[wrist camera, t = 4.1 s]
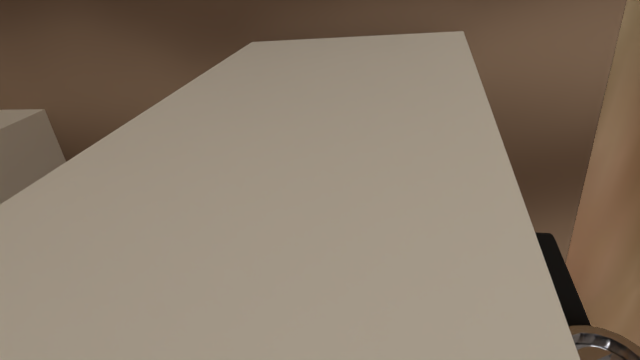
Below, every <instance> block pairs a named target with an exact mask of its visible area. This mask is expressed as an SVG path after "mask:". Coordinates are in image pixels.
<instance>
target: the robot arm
mask: <svg viewBox="0 0 640 360" xmlns="http://www.w3.org/2000/svg"><path fill="white" fill-rule="evenodd" d="M535 234H536V237H537V239H538V242H539V245H540V248H541V251H542V254H543V256H544V259H545V262H546V265H547V268H548V270H549V273H550V276H551V279H552V282H553V284H554V287H555V290H556V293H557V296H558V298H559V301H560V304H561V307H562V310H563V312H564V315H565V318H566V321H567V324H568V327H569V329H570V332H571V335H572V338H573V341H574V343H575V346H576V349H577V352H578V355H579V357H580V360H640V347H639V346H638V345H636V344H635V343H633V342H631V341H630V340H628V339H626V338H625V337H623V336H621V335H619V334H616V333H614V332H611V331H609V330H606V329H603V328H598V327H593V326H591V325H590V322H589V320H588V318H587V315H586V313H585V310H584V308H583V305H582V303H581V301H580V298H579V296H578V293H577V291H576V289H575V286H574V284H573V281H572V279H571V276H570V274H569V272H568V269H567V267H566V264H565V262H564V259H563V257H562V255H561V252H560V250H559V247H558V245H557V242H556V240H555V238H554V236H553V235H552V234H550V233H538V232H535Z"/></svg>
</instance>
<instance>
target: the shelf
mask: <svg viewBox="0 0 640 360" xmlns="http://www.w3.org/2000/svg"><path fill="white" fill-rule="evenodd" d="M626 1H627V0H0V110H24V109H45V112H46V114H47V117H48V119H49V121H50V124H51V126H52V129H53V131H54V134H55V136H56V138H57V141H58V143H59V146H60V148H61V151H62V153H63V155H64V158H65V160H66V162H67V161H68V160H70V159H72V158H73V157H75V156H76V155H78V154H79V153H81V152H82V151H84V150H85V149H87V148H89V147H90V146H92V145H93V144H95V143H96V142H98V141H99V140H101V139H102V138H104V137H106V136H107V135H109V134H110V133H112V132H113V131H115V130H116V129H118V128H120V127H121V126H123V125H124V124H126V123H127V122H129V121H130V120H132V119H133V118H135V117H137V116H138V115H140V114H141V113H143V112H144V111H146V110H147V109H149V108H150V107H152V106H154V105H155V104H157V103H158V102H160V101H161V100H163V99H164V98H166V97H168V96H169V95H171V94H172V93H174V92H175V91H177V90H178V89H180V88H181V87H183V86H185V85H186V84H188V83H189V82H191V81H192V80H194V79H195V78H197V77H198V76H200V75H202V74H203V73H205V72H206V71H208V70H209V69H211V68H212V67H214V66H216V65H217V64H219V63H220V62H222V61H223V60H225V59H226V58H228V57H229V56H231V55H233V54H234V53H236V52H237V51H239V50H240V49H242V48H243V47H245V46H246V45H248V44H250V43H251V42H260V41H280V40H299V39H319V38H338V37H358V36H377V35H397V34H416V33H436V32H455V31H463V32H464V34H465V37H466V40H467V43H468V46H469V48H470V51H471V54H472V57H473V60H474V62H475V65H476V68H477V71H478V74H479V77H480V79H481V82H482V85H483V88H484V91H485V93H486V96H487V99H488V102H489V105H490V107H491V110H492V113H493V116H494V119H495V121H496V124H497V127H498V130H499V133H500V136H501V138H502V141H503V144H504V147H505V150H506V152H507V155H508V158H509V161H510V164H511V166H512V169H513V172H514V175H515V178H516V180H517V183H518V186H519V189H520V192H521V195H522V197H523V200H524V203H525V206H526V209H527V211H528V214H529V217H530V220H531V223H532V225H533V228H534V231H535V232H538V233H550V234H552V235H553V236H554V238H555V240H556V242H557V245H558V247H559V250H560V252H561V255H562V257H563V259H564V262H565V263H566V258H567V254H568V250H569V246H570V241H571V237H572V233H573V228H574V224H575V220H576V216H577V211H578V207H579V203H580V198H581V194H582V190H583V186H584V181H585V177H586V173H587V168H588V164H589V160H590V156H591V151H592V147H593V143H594V138H595V134H596V130H597V125H598V121H599V117H600V113H601V108H602V104H603V100H604V95H605V91H606V87H607V83H608V78H609V74H610V70H611V65H612V61H613V57H614V53H615V48H616V44H617V40H618V35H619V31H620V27H621V22H622V18H623V14H624V10H625V5H626Z"/></svg>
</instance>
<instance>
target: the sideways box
mask: <svg viewBox="0 0 640 360" xmlns="http://www.w3.org/2000/svg"><path fill="white" fill-rule="evenodd" d="M0 360H580V357H579V355H578V352H577V349H576V346H575V343H574V341H573V338H572V335H571V332H570V329H569V327H568V324H567V321H566V318H565V315H564V312H563V310H562V307H561V304H560V301H559V298H558V296H557V293H556V290H555V287H554V284H553V282H552V279H551V276H550V273H549V270H548V268H547V265H546V262H545V259H544V256H543V254H542V251H541V248H540V245H539V242H538V239H537V237H536V234H535V231H534V228H533V225H532V223H531V220H530V217H529V214H528V211H527V209H526V206H525V203H524V200H523V197H522V195H521V192H520V189H519V186H518V183H517V180H516V178H515V175H514V172H513V169H512V166H511V164H510V161H509V158H508V155H507V152H506V150H505V147H504V144H503V141H502V138H501V136H500V133H499V130H498V127H497V124H496V121H495V119H494V116H493V113H492V110H491V107H490V105H489V102H488V99H487V96H486V93H485V91H484V88H483V85H482V82H481V79H480V77H479V74H478V71H477V68H476V65H475V62H474V60H473V57H472V54H471V51H470V48H469V46H468V43H467V40H466V37H465V34H464V32H463V31H455V32H436V33H416V34H397V35H377V36H358V37H338V38H319V39H299V40H280V41H260V42H251V43H250V44H248V45H246V46H245V47H243V48H242V49H240V50H239V51H237V52H236V53H234V54H233V55H231V56H229V57H228V58H226V59H225V60H223V61H222V62H220V63H219V64H217V65H216V66H214V67H212V68H211V69H209V70H208V71H206V72H205V73H203V74H202V75H200V76H198V77H197V78H195V79H194V80H192V81H191V82H189V83H188V84H186V85H185V86H183V87H181V88H180V89H178V90H177V91H175V92H174V93H172V94H171V95H169V96H168V97H166V98H164V99H163V100H161V101H160V102H158V103H157V104H155V105H154V106H152V107H150V108H149V109H147V110H146V111H144V112H143V113H141V114H140V115H138V116H137V117H135V118H133V119H132V120H130V121H129V122H127V123H126V124H124V125H123V126H121V127H120V128H118V129H116V130H115V131H113V132H112V133H110V134H109V135H107V136H106V137H104V138H102V139H101V140H99V141H98V142H96V143H95V144H93V145H92V146H90V147H89V148H87V149H85V150H84V151H82V152H81V153H79V154H78V155H76V156H75V157H73V158H72V159H70V160H68V161H67V162H65V163H64V164H62V165H61V166H59V167H58V168H56V169H54V170H53V171H51V172H50V173H48V174H47V175H45V176H44V177H42V178H41V179H39V180H37V181H36V182H34V183H33V184H31V185H30V186H28V187H27V188H25V189H24V190H22V191H20V192H19V193H17V194H16V195H14V196H13V197H11V198H10V199H8V200H6V201H5V202H3V203H2V204H0Z"/></svg>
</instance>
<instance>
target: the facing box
mask: <svg viewBox="0 0 640 360" xmlns="http://www.w3.org/2000/svg"><path fill="white" fill-rule="evenodd" d="M65 162H66V160H65V158H64V155H63V153H62V151H61V148H60V146H59V143H58V141H57V138H56V136H55V134H54V131H53V129H52V126H51V124H50V121H49V119H48V117H47V114H46V112H45V109H24V110H0V204H2V203H3V202H5V201H6V200H8V199H10V198H11V197H13V196H14V195H16V194H17V193H19V192H20V191H22V190H24V189H25V188H27V187H28V186H30V185H31V184H33V183H34V182H36V181H37V180H39V179H41V178H42V177H44V176H45V175H47V174H48V173H50V172H51V171H53V170H54V169H56V168H58V167H59V166H61V165H62V164H64V163H65Z"/></svg>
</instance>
